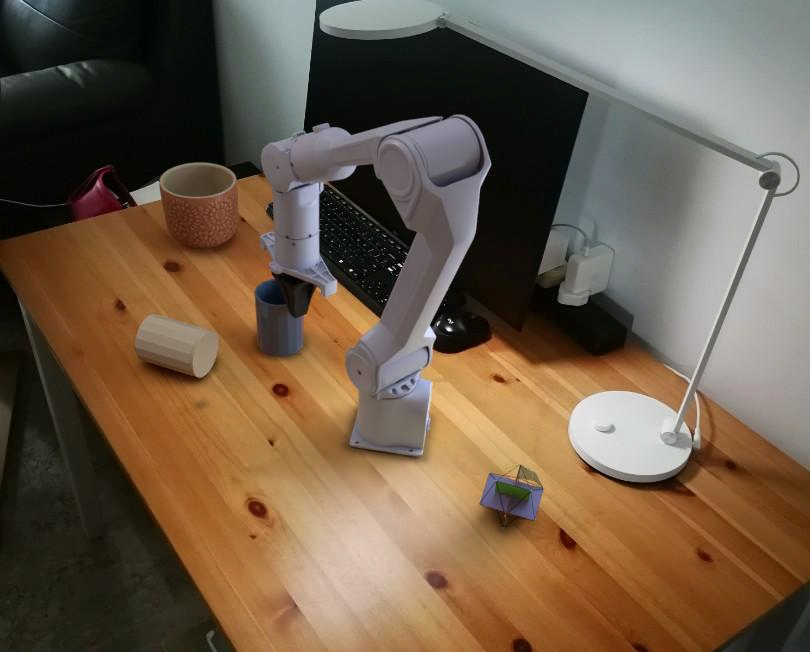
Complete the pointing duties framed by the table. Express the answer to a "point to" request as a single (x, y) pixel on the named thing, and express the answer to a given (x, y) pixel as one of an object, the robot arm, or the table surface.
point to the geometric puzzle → (513, 494)
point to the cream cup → (176, 345)
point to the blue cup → (276, 322)
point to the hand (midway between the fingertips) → (298, 313)
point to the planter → (200, 204)
